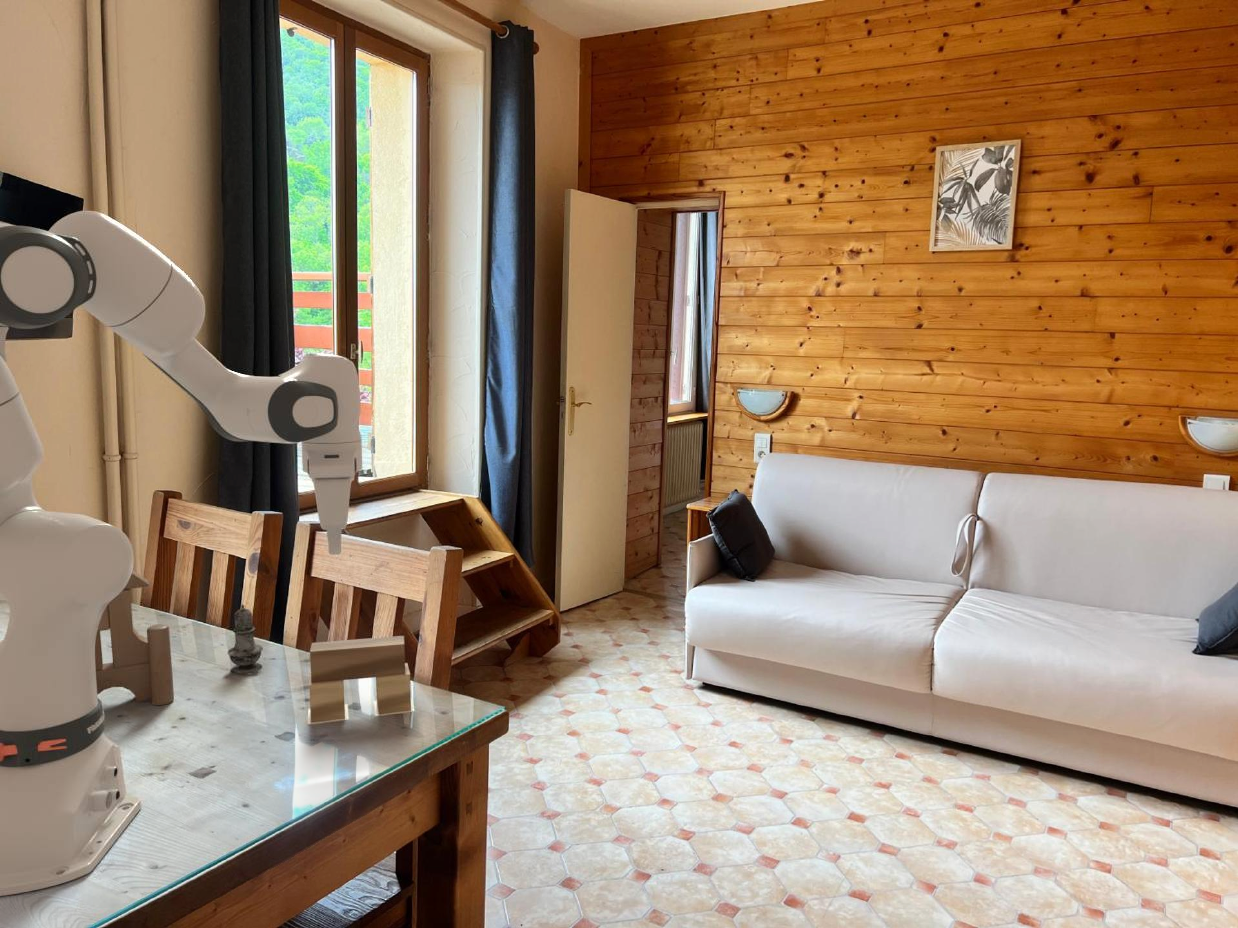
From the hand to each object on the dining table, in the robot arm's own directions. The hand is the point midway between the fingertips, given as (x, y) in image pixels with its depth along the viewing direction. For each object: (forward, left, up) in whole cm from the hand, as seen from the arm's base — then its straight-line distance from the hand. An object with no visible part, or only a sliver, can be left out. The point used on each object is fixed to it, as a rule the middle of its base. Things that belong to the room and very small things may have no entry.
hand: (335, 546), depth 139 cm
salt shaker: (+23, +16, -27) cm, 39 cm away
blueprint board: (-3, -3, -27) cm, 27 cm away
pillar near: (-3, +2, -26) cm, 26 cm away
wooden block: (-3, -3, -20) cm, 20 cm away
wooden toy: (+12, +34, -27) cm, 45 cm away
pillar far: (-3, -8, -26) cm, 27 cm away
